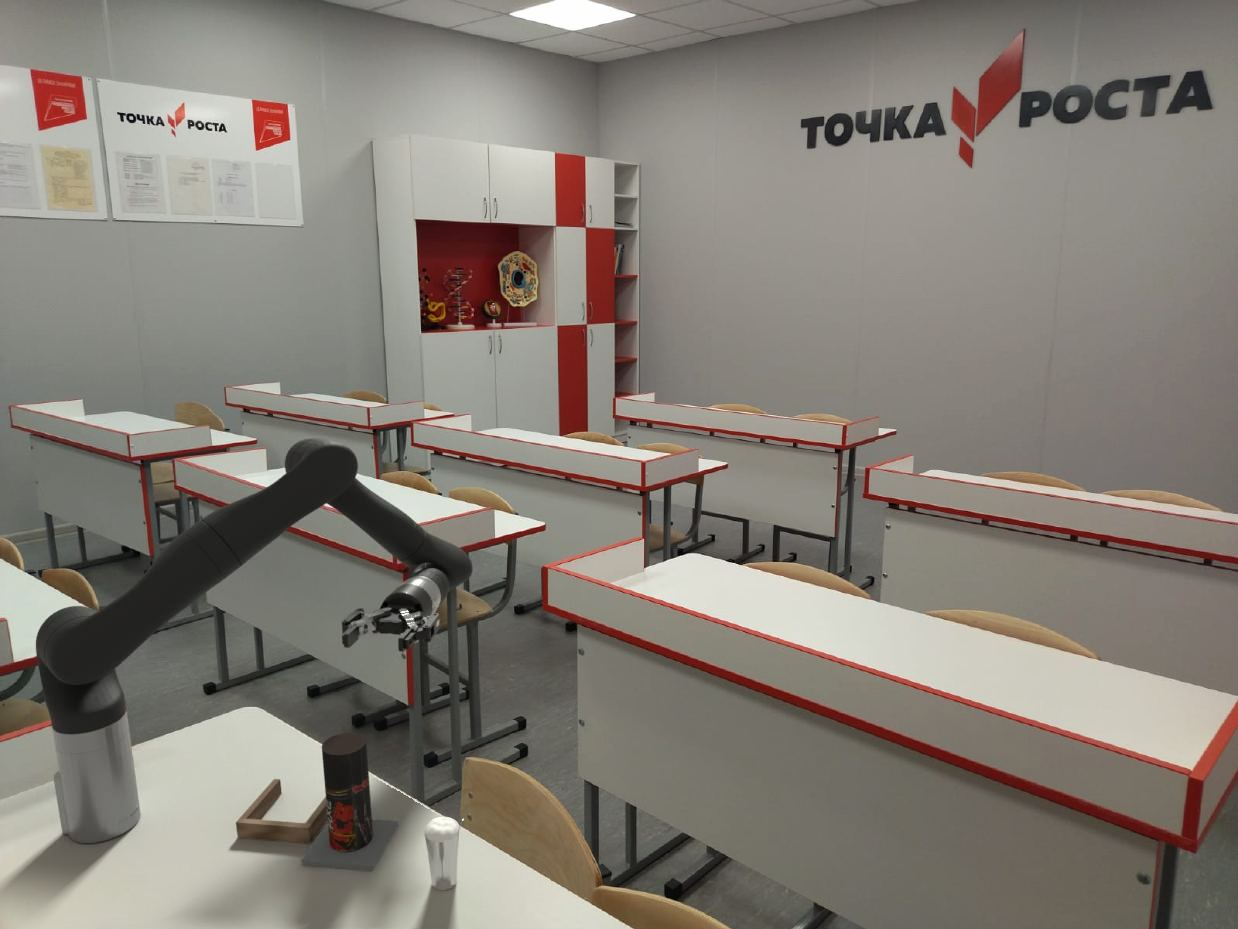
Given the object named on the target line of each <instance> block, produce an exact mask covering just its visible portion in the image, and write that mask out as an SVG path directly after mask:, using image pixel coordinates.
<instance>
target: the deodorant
mask: <svg viewBox="0 0 1238 929" xmlns="http://www.w3.org/2000/svg"><path fill="white" fill-rule="evenodd" d="M367 745H368V743H367V738H366V737H365V736H364V735H363V734H361V733H357V732H343V733H339V734H335V735H333V736H330V737H329V738H327V739H326V740H324V741H323V743H322V745H321V753H322V766H323V767H322V768H323V779H324V780H323V781H324V792H325V797H326V805H327V817H328V819H327V824H328V829H329V842H330V846H331V848H332V849H334V850H335V851H338V852H353V851H357V850H359V849H362V848H363V847H365V846H367V845H368V844H369V843H370V842H371V840H372V837H373V829H372V819H373V818H372V817H373V816H372V805H371V804H372V802H371V789H370V786H371V785H370V774H369V761H368V760H369V759H368V758H369V757H368V746H367Z"/></svg>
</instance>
